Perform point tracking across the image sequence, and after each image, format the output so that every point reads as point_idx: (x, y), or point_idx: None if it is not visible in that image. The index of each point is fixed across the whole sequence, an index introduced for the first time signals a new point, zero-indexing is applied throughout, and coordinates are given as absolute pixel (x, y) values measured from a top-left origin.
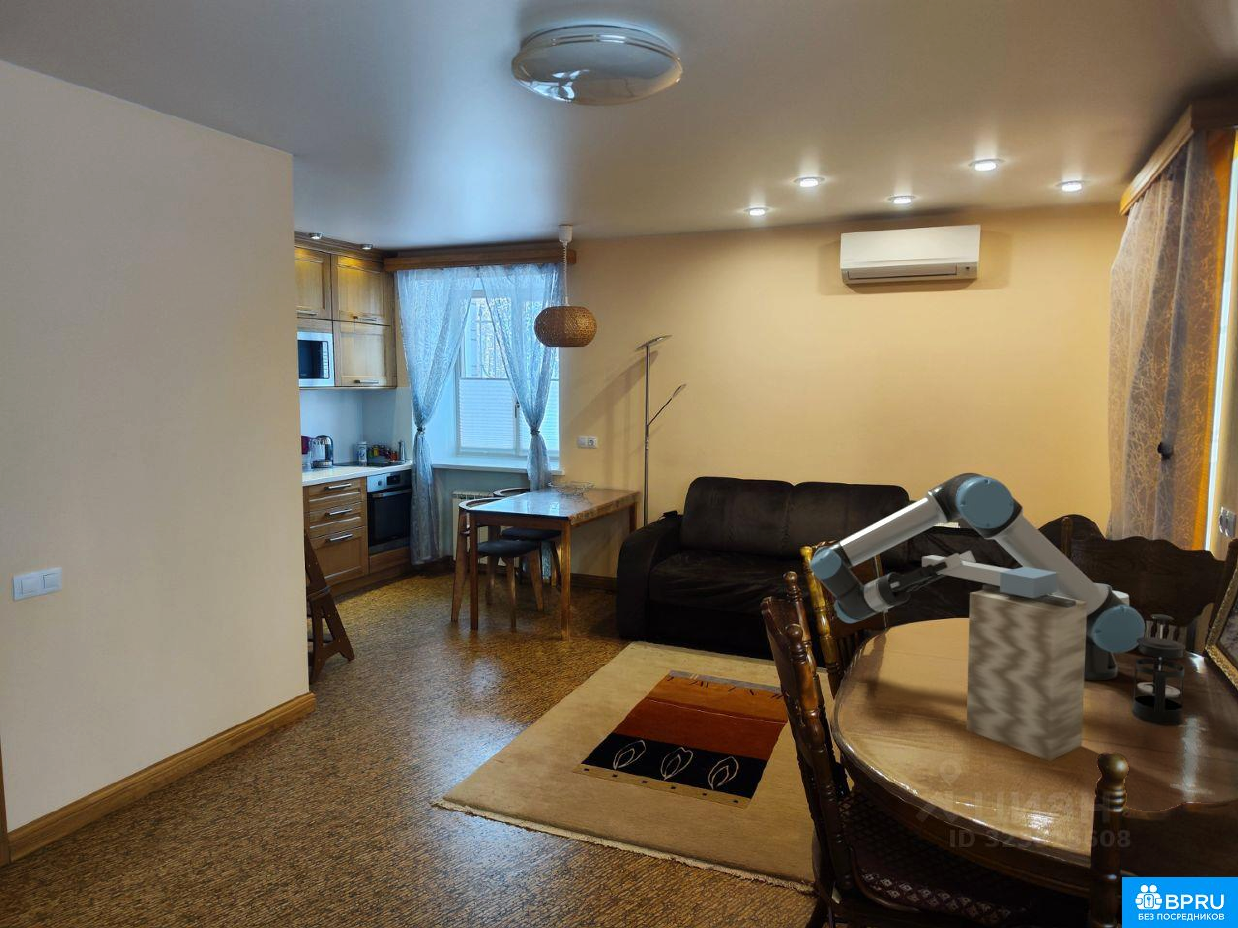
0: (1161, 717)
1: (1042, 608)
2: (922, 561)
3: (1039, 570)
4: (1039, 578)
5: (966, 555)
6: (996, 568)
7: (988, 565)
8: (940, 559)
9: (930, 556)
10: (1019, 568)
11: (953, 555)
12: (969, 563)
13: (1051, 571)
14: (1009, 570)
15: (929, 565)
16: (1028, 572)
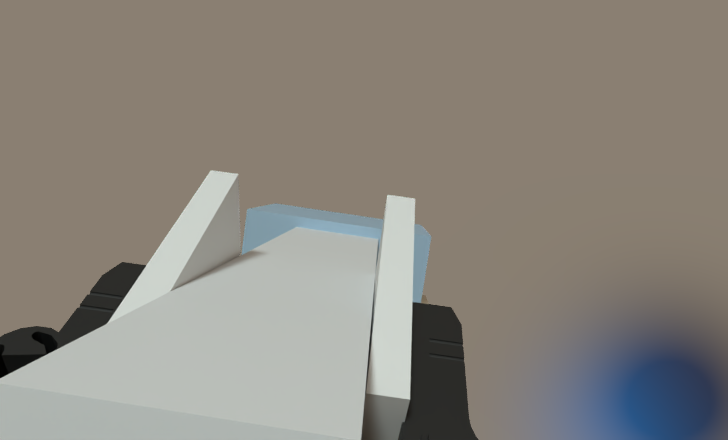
0: None
1: (425, 303)
2: None
3: (282, 208)
4: None
5: (229, 216)
6: (321, 240)
7: (275, 242)
8: (311, 325)
9: (183, 386)
10: (298, 216)
11: (411, 221)
12: (298, 262)
13: (272, 204)
14: (368, 227)
15: (464, 431)
16: (345, 218)
